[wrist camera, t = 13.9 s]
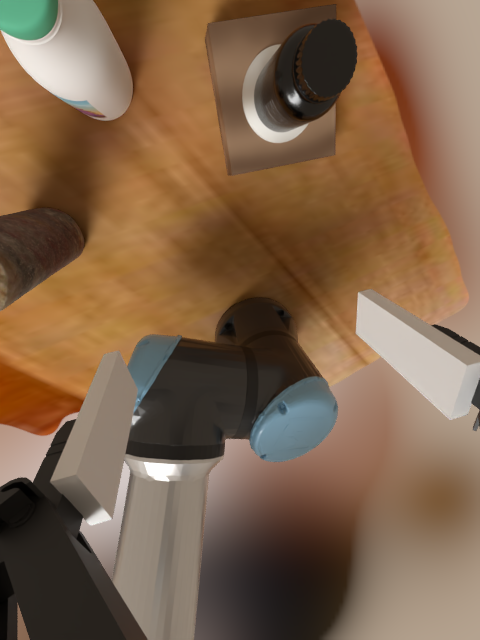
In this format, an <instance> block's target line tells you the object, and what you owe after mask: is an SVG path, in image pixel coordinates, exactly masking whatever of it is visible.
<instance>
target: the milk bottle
mask: <svg viewBox="0 0 480 640" xmlns="http://www.w3.org/2000/svg"><path fill="white" fill-rule="evenodd" d="M0 30H1V32H2V34H3V36H4V39H5V41H6V43H7V45H8V46H9V48H10V50H11V52H12V53H13V55H14V56H15V58H16V59H17V60H18V62H19V63H20V64H21V66H22V67H23V68H24V69H25V70H26V72H27V73H28V74H29V75H30V76H31V77H32V78H33V79H34V80H35V81H36V82H38V83H39V84H40V85H41V86H42V87H44V88H45V89H47V90H48V91H49V92H51V93H52V94H53V95H55V96H56V97H58V98H60V99H61V100H63V101H64V102H66V103H67V104H69V105H71V106H72V107H74V108H76V109H77V110H79V111H80V112H82V113H84V114H86V115H87V116H89V117H92V118H94V119H97V120H102V121H109V120H114V119H116V118H118V117H120V116H121V115H123V114H124V113H125V112H126V110H127V109H128V107H129V105H130V103H131V100H132V94H133V82H132V77H131V73H130V70H129V67H128V65H127V62H126V60H125V58H124V56H123V54H122V52H121V50H120V48H119V46H118V44H117V42H116V40H115V38H114V36H113V34H112V32H111V30H110V28H109V26H108V24H107V22H106V21H105V19H104V17H103V15H102V14H101V12H100V10H99V9H98V7H97V6H96V4H95V3H94V1H93V0H0Z"/></svg>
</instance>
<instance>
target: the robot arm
mask: <svg viewBox="0 0 480 640" xmlns="http://www.w3.org/2000/svg"><path fill="white" fill-rule="evenodd" d="M356 334H357V335H358V336H359V337H360V338H361V339H363V340H364V341H365V342H366V343H367V344H368V345H369V346H370V347H371V348H372V349H373V350H375V351H376V352H377V353H378V354H379V355H380V356H381V357H382V358H383V359H384V360H385V361H386V362H388V363H389V364H390V365H391V366H392V367H393V368H394V369H395V370H396V371H397V372H398V373H400V374H401V375H402V376H403V377H404V378H405V379H406V380H407V381H408V382H409V383H410V384H411V385H413V386H414V387H415V388H416V389H417V390H418V391H419V392H420V393H421V394H422V395H423V396H425V397H426V398H427V399H428V400H429V401H430V402H431V403H432V404H433V405H434V406H435V407H437V408H438V409H439V410H440V411H441V412H442V413H443V414H444V415H445V416H446V417H447V418H448V419H450V420H451V419H454V418H458V417H461V416H465V415H467V414H468V412H469V409H470V406H471V404H473V405H474V406H476V407H477V408H478V409H479V410H480V347H479V346H477V345H475V344H474V343H472V342H468V340H467V339H465V338H463V337H462V336H461V337H460V336H459V335H458V334H456V333H455V332H453V331H451V330H449V329H447V328H444V327H441V326H438V325H429V324H428V323H426V322H424V321H423V320H421V319H419V318H418V317H416V316H415V315H413V314H411V313H410V312H408V311H406V310H405V309H403V308H401V307H400V306H398V305H397V304H395V303H393V302H392V301H390V300H388V299H387V298H385V297H384V296H382V295H380V294H379V293H377V292H375V291H374V290H372V289H368V290H364V291H360V292H358V304H357V322H356ZM337 414H338V406H337V401H336V400H335V397H334V396H333V394H332V392H331V391H330V389H329V386H328V383H327V381H326V380H325V379H324V378H323V377H322V375H321V374H320V373H319V371H318V370H317V368H316V367H315V366H314V364H313V363H312V362H311V360H310V359H309V357H308V356H307V355H306V353H305V352H304V350H303V349H302V348H301V346H300V345H299V343H298V337H297V328H296V324H295V322H294V319H293V317H292V316H291V314H290V313H289V312H288V311H287V309H286V308H285V307H284V306H283V305H281V304H280V303H278V302H276V301H274V300H271V299H267V298H251V299H247V300H244V301H241V302H239V303H237V304H235V305H234V306H232V307H231V308H230V309H229V310H228V311H226V313H225V314H224V315H223V316H222V317H221V319H220V321H219V323H218V325H217V328H216V332H215V342H210V341H203V340H196V339H190V338H183V337H182V336H181V335H178V336H165V335H155V334H152V335H147V336H145V337H143V338H142V339H141V340H140V341H139V342H138V343H137V345H136V347H135V349H134V351H133V354H132V356H131V358H130V361H129V363H128V366H126V364H125V362H124V360H123V358H122V356H121V354H120V352H119V351H115V352H111V353H107V354H104V355H103V358H102V360H101V362H100V365H99V367H98V369H97V372H96V374H95V376H94V379H93V381H92V384H91V386H90V388H89V391H88V393H87V395H86V398H85V400H84V402H83V405H82V407H81V410H80V412H79V414H78V417H77V419H75V420H71V421H67V422H66V423H65V424H64V425H63V426H62V427H61V428H60V430H59V431H58V432H57V433H56V435H55V437H54V439H53V441H52V443H51V447H50V448H49V450H48V452H47V454H46V457H45V458H44V460H43V462H42V464H41V466H40V469H39V471H38V473H37V475H36V477H35V479H34V481H33V483H32V482H31V481H30V480H29V479H27V478H17V479H14V480H11V481H9V482H8V483H6V484H5V485H3V486H1V487H0V640H17V602H18V605H19V608H20V611H21V614H22V617H23V620H24V623H25V626H26V628H27V632H28V635H29V638H30V640H194V632H195V620H196V609H197V599H198V588H199V577H200V565H201V556H202V545H203V534H204V523H205V512H206V501H207V490H208V479H209V473H210V471H211V470H212V469H213V468H214V467H215V466H216V465H217V464H218V463H219V462H220V461H221V460H222V459H223V457H224V449H225V440H226V439H228V438H229V439H230V438H231V439H249V441H250V445H251V448H252V449H253V450H254V451H255V453H256V454H257V455H258V456H260V458H261V459H263V460H266V461H270V462H283V461H288V460H291V459H294V458H297V457H300V456H302V455H304V454H305V453H307V452H309V451H310V450H312V449H313V448H315V447H316V446H318V445H319V444H320V443H321V442H322V441H323V440H324V439H325V438H326V437H327V436H328V434H329V433H330V432H331V430H332V429H333V427H334V425H335V422H336V419H337ZM478 426H480V411H479V413H478V416H477V418H476V421H475V423H474V426H473V430H474V431H476V430H477V428H478ZM124 461H125V462H126V464H127V465H128V466H129V469H130V477H129V483H128V489H127V495H126V501H125V506H124V512H123V518H122V524H121V530H120V536H119V541H118V547H117V553H116V559H115V564H114V570H113V576H112V581H111V579H110V577H109V576H108V574H107V573H106V571H105V569H104V568H103V566H102V564H101V563H100V561H99V560H98V558H97V556H96V555H95V553H94V552H93V550H92V548H91V547H90V545H89V543H88V542H87V540H86V539H85V537H84V535H83V534H82V533H81V532H80V531H79V530H80V526H81V522H82V519H83V518H84V519H85V520H86V522H88V524H89V525H94V524H98V523H101V522H104V521H108V520H111V519H112V518H113V513H114V508H115V503H116V498H117V493H118V488H119V483H120V478H121V472H122V468H123V463H124Z"/></svg>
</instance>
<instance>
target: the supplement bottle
mask: <svg viewBox="0 0 480 640" xmlns="http://www.w3.org/2000/svg"><path fill="white" fill-rule="evenodd" d="M356 58H357V46H356V44H355V38H354V37H353V33H352V32H351V31H350V28H349V27H348V26H346V24H345V23H344V22H341V20H336V19H332V20H331V19H327V20H326V21H321V22H320V23H319V24H317V23H309V24H305V25H302V26H300V27H298V28H297V29H295V30H294V31H293V32H292V33H291V34H289V36H288V37H287V38H286V39H285V40H284V41H283V43H282V44H281V45H280V47H279V48H278V49H277V51H276V52H275V53H274V55H273V56H272V57H271V59H270V60H269V61H268V62H267V64H266V65H265V66H264V68H263V69H262V71H261V72H260V74H259V76H258V78H257V81H256V84H255V89H254V104H255V109H256V112H257V115H258V117H259V119H260V120H261V122H262V123H263V124H264V125H265V126H266V127H267V128H268V129H270V130H272V131H275V132H288V131H291V130H293V129H296V128H298V127H300V126H303V125H305V124H307V123H310V122H312V121H314V120H317V119H319V118H320V117H322V116H323V115H325V114H326V113H327V112H328V111H329V110H330V109H331V108H332V107H333V106H334V104H335V103H336V101H337V100H338V98H339V96H340V93H341V92H342V90H344V89H345V88H346V86H347V85H348V84H349V82H350V79H351V78H352V77H353V72H354V71H355V65H356V63H357V59H356Z"/></svg>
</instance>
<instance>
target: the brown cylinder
mask: <svg viewBox="0 0 480 640" xmlns="http://www.w3.org/2000/svg"><path fill="white" fill-rule="evenodd" d="M83 249H84V238H83V235H82V233H81V231H80V228H79V227H78V225H77V224H76V222H75V221H74V220H73V219H72V218H71V217H70V216H69V215H67V214H66V213H64V212H62V211H60V210H56V209H53V208H37V209H32V210H26V211H22V212H17V213H13V214H8V215H3V216H0V311H1V310H3V309H5V308H6V307H7V306H9V305H10V304H12V303H13V302H14V301H16V300H17V299H19V298H20V297H21V296H23V295H24V294H25V293H27V292H28V291H30V290H32V289H33V288H34V287H36V286H37V285H38V284H40V283H41V282H43V281H44V280H46V279H47V278H48V277H50V276H51V275H53V274H54V273H56V272H57V271H59V270H60V269H62V268H63V267H65V266H66V265H68V264H69V263H70V262H72V261H73V260H75V259H76V258H77V257H79V256H80V255H81V253H82V251H83Z"/></svg>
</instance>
